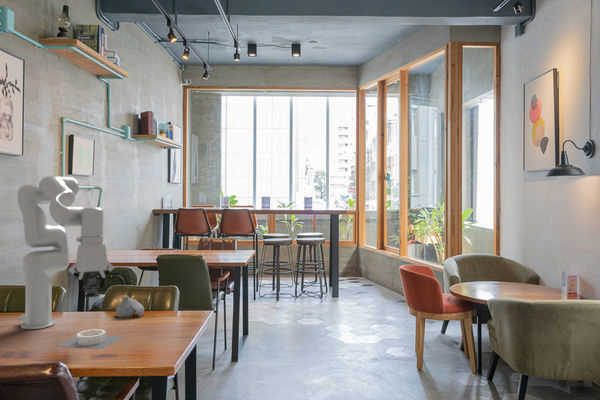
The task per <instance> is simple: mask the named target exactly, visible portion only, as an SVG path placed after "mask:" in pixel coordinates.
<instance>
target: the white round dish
mask: <svg viewBox="0 0 600 400" xmlns="http://www.w3.org/2000/svg"><path fill="white" fill-rule="evenodd" d="M106 333H107V332H106V331H105V329H100V328H99V329H97V328H93V329H92V328H91V329H86V330H82V331H79V332H78V333H76V336H77V343H78V345H94V344H100V343H101V342H103V341H105V340H106V336H107V334H106Z"/></svg>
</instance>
